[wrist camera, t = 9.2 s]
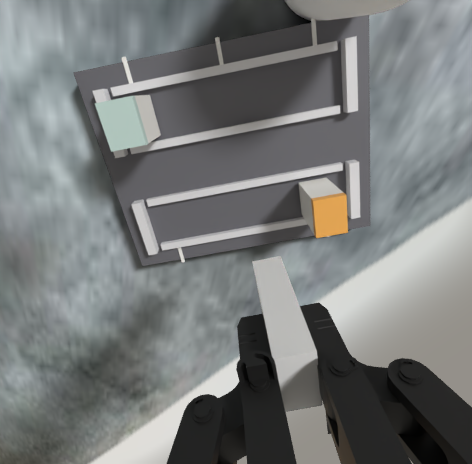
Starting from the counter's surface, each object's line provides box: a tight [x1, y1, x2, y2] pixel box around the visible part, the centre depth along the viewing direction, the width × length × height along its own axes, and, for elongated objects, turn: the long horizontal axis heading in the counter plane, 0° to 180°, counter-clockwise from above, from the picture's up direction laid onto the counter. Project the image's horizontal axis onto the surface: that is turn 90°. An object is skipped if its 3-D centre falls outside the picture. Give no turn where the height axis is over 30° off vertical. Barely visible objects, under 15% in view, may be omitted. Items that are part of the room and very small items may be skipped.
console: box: [74, 15, 370, 266], centre depth 27 cm, size 22×18×3 cm
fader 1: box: [95, 95, 161, 152], centre depth 22 cm, size 2×3×5 cm
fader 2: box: [298, 178, 348, 238], centre depth 25 cm, size 2×3×5 cm
